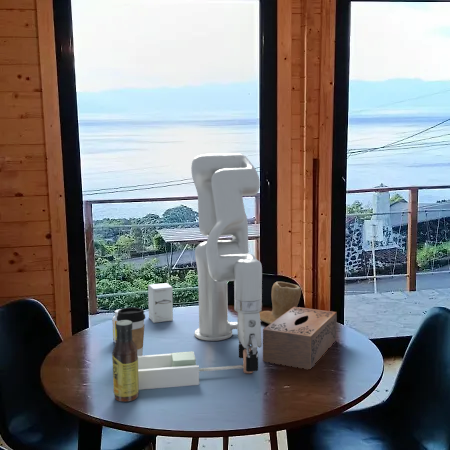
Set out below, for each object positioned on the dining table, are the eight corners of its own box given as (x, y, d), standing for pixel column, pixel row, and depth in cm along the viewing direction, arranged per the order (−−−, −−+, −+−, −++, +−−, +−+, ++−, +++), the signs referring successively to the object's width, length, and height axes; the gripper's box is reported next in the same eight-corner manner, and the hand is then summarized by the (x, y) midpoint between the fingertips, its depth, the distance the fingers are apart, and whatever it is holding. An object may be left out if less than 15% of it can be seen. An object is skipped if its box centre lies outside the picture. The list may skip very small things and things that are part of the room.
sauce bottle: (115, 392, 147) (112, 318, 144) (139, 391, 147) (137, 317, 145) (112, 404, 140) (109, 326, 138) (138, 403, 141) (135, 325, 138)
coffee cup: (123, 365, 165) (121, 315, 163) (114, 356, 172) (112, 308, 170) (150, 360, 169) (149, 311, 167) (141, 351, 176) (139, 304, 174)
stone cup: (307, 326, 199) (308, 284, 197) (282, 333, 192) (282, 289, 190) (278, 315, 211) (278, 276, 209) (253, 322, 204) (253, 281, 202)
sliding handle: (250, 366, 162) (250, 346, 162) (255, 375, 157) (255, 354, 156) (171, 373, 159) (171, 352, 158) (173, 381, 153) (173, 360, 152)
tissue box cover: (293, 335, 190) (293, 306, 189) (336, 342, 184) (336, 312, 182) (262, 362, 167) (262, 329, 166) (310, 370, 161) (310, 336, 160)
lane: (194, 368, 162) (193, 348, 161) (199, 384, 151) (198, 363, 151) (129, 373, 159) (128, 353, 158) (130, 390, 148) (129, 368, 147)
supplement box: (153, 323, 204) (152, 288, 202) (148, 317, 210) (147, 284, 209) (173, 321, 206) (172, 286, 205) (168, 315, 213) (167, 282, 211)
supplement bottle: (133, 341, 185) (132, 310, 184) (118, 345, 182) (117, 314, 180) (125, 337, 189) (124, 307, 188) (110, 340, 186) (108, 310, 184)
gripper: (269, 312, 149) (269, 375, 151) (254, 295, 166) (254, 352, 168) (241, 314, 148) (241, 377, 150) (228, 296, 164) (229, 353, 167)
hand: (248, 364), depth 159 cm, fingers open, 9 cm apart
